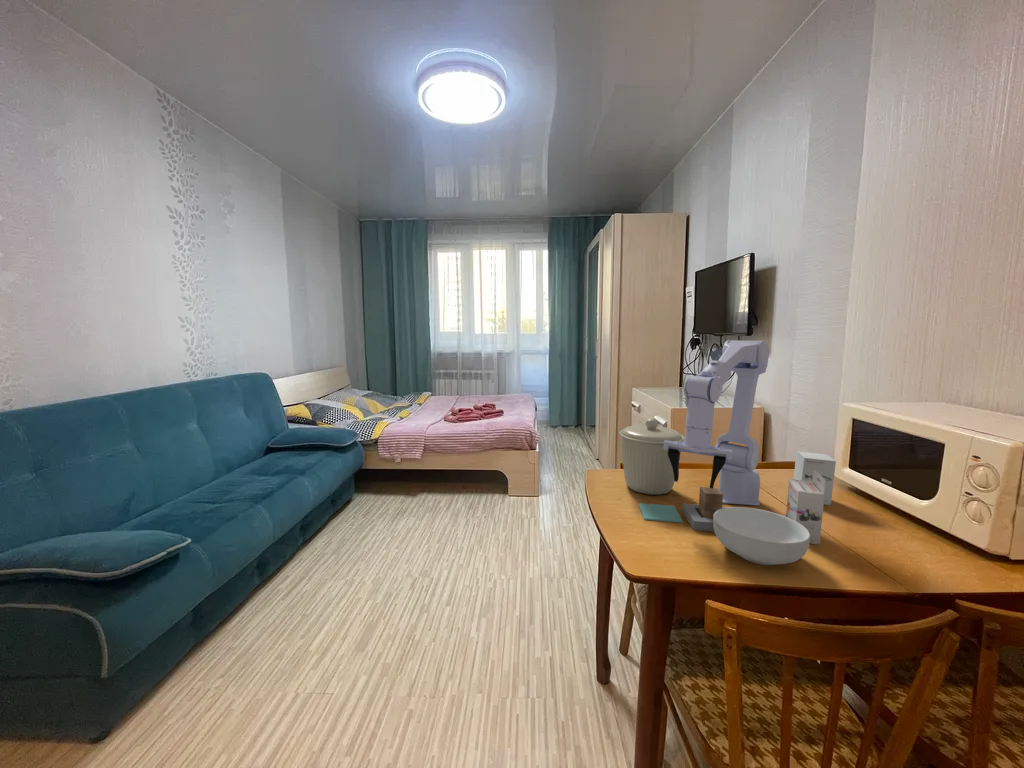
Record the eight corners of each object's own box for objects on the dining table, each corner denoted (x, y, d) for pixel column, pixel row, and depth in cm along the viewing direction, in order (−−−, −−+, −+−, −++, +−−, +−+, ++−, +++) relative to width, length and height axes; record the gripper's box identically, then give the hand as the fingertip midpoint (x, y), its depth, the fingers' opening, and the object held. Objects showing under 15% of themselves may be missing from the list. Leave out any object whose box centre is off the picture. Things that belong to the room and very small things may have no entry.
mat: (673, 507, 106) (673, 505, 106) (682, 522, 97) (682, 521, 97) (638, 504, 108) (638, 503, 108) (644, 519, 99) (644, 518, 99)
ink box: (783, 524, 97) (789, 465, 95) (808, 528, 95) (814, 468, 93) (793, 541, 89) (799, 477, 87) (820, 545, 87) (827, 480, 85)
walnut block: (715, 519, 100) (717, 488, 99) (720, 526, 96) (723, 494, 95) (697, 517, 100) (700, 487, 99) (702, 525, 96) (705, 493, 95)
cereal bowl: (788, 541, 89) (791, 511, 88) (822, 586, 73) (826, 549, 72) (705, 530, 94) (707, 501, 93) (719, 569, 78) (722, 535, 77)
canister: (672, 479, 127) (676, 414, 124) (689, 502, 109) (694, 427, 107) (614, 476, 129) (616, 412, 127) (620, 498, 112) (624, 424, 109)
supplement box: (798, 501, 110) (803, 457, 109) (791, 492, 117) (795, 450, 116) (831, 506, 108) (836, 460, 106) (822, 496, 114) (827, 453, 113)
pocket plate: (723, 514, 102) (724, 506, 102) (739, 533, 92) (740, 524, 92) (682, 511, 104) (682, 503, 103) (693, 529, 94) (693, 520, 94)
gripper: (663, 425, 94) (658, 481, 95) (734, 434, 87) (728, 495, 88) (667, 421, 100) (663, 474, 101) (733, 429, 93) (728, 486, 94)
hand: (693, 483), depth 95 cm, fingers open, 7 cm apart
